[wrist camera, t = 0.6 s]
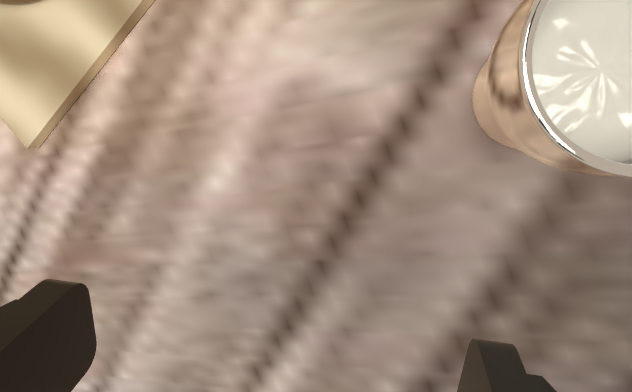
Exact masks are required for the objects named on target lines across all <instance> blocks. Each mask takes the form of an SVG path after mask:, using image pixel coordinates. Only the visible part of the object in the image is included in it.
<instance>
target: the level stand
mask: <svg viewBox="0 0 632 392" xmlns="http://www.w3.org/2000/svg"><path fill="white" fill-rule="evenodd" d="M154 1H155V0H34V1H31V2H27V3H21V4H1V3H0V118H1V119H2V120H3V121H4V123H5V124H6V125H7V126H8V127H9V128H10V129H11V131H12V132H13V133H14V134H15V135H16V136H17V137H18V139H19V140H20V141H21V142H22V143H23V144H24V145H25V147H26V148H27V149H28V148H39V147H40V146H41V144H42V143H43V142H44V140H45V139H46V138H47V137H48V135H49V134H50V133H51V132H52V130H53V129H54V128H55V126H56V125H57V124H58V123H59V121H60V120H61V119H62V118H63V116H64V115H65V114H66V112H67V111H68V110H69V109H70V107H71V106H72V105H73V104H74V102H75V101H76V100H77V99H78V97H79V96H80V95H81V93H82V92H83V91H84V90H85V88H86V87H87V86H88V85H89V83H90V82H91V81H92V79H93V78H94V77H95V76H96V74H97V73H98V72H99V71H100V69H101V68H102V67H103V65H104V64H105V63H106V62H107V60H108V59H109V58H110V57H111V55H112V54H113V53H114V51H115V50H116V49H117V48H118V46H119V45H120V44H121V43H122V41H123V40H124V39H125V38H126V36H127V35H128V34H129V32H130V31H131V30H132V29H133V27H134V26H135V25H136V24H137V22H138V21H139V20H140V18H141V17H142V16H143V15H144V13H145V12H146V11H147V10H148V8H149V7H150V6H151V4H152V3H153V2H154Z"/></svg>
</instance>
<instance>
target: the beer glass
mask: <svg viewBox="0 0 632 392" xmlns="http://www.w3.org/2000/svg"><path fill="white" fill-rule="evenodd" d="M472 104H473V111H474V114H475V117H476V119H477V122H478V123H479V125H480V127H481V128H482V129H483V131H484V132H485V133H486V134H487V135H488V136H489V137H490V138H492V139H493V140H494V141H496V142H498V143H500V144H502V145H504V146H507V147H510V148H514V149H519V150H520V151H522V152H523V153H525V154H526V155H528V156H530V157H531V158H533V159H535V160H538V161H540V162H542V163H545V164H548V165H550V166H553V167H556V168H559V169H562V170H566V171H571V172H577V173H583V174H590V175H602V176H624V177H631V178H632V0H523V1H522V2H521V3H520V5H519V6H518V7H517V8H516V9H515V11H514V12H513V13H512V14H511V16H510V17H509V19H508V20H507V22H506V23H505V25H504V27H503V29H502V30H501V32H500V34H499V35H498V37H497V39H496V41H495V43H494V46H493V48H492V51H491V54H490V57H489V60H488V61H487V62H486V63H485V64H484V66H483V67H482V69H481V70H480V72H479V74H478V76H477V78H476V81H475V84H474V88H473V95H472Z"/></svg>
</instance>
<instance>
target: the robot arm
mask: <svg viewBox="0 0 632 392" xmlns="http://www.w3.org/2000/svg"><path fill="white" fill-rule="evenodd" d="M95 352H96V335H95V328H94V321H93V315H92V308H91V302H90V295H89V291H88V288H87V287H86V286H85V285H84V284H81V283H74V282H67V281H60V280H52V279H46V280H43V281H42V282H40V283H39V284H37V285H36V286H35V287H34V288H32V289H31V290H30V291H29V292H28V293H26V294H25V295H24V296H23V297H21V298H20V299H19V300H14V301H12V302H10V303H8V304H5V305H3V306H1V307H0V392H71V391H72V390H73V388H74V387H75V386H76V385H77V383H78V382H79V381H80V380H81V378H82V377H83V376H84V375H85V373H86V372H87V371H88V369H89V368H90V366H91V364H92V361H93V359H94V356H95ZM457 392H556V391H555V390H554V389H553V387H552V386H551V385H550V384H549V383H548V382H547V381H546V380H545V379H544V378H543V377H542V376H537V375H530V374H526V371H525V369H524V366H523V364H522V362H521V359H520V357H519V354H518V352H517V349H516V348H515V346H514V345H513V344H508V343H500V342H493V341H486V340H479V339H472V340H471V342H470V344H469V347H468V350H467V354H466V358H465V362H464V366H463V370H462V374H461V378H460V382H459V386H458V390H457Z"/></svg>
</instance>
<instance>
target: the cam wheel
mask: <svg viewBox="0 0 632 392" xmlns="http://www.w3.org/2000/svg"><path fill="white" fill-rule="evenodd" d="M31 1H34V0H0V3H1V4H21V3H27V2H31Z"/></svg>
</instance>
